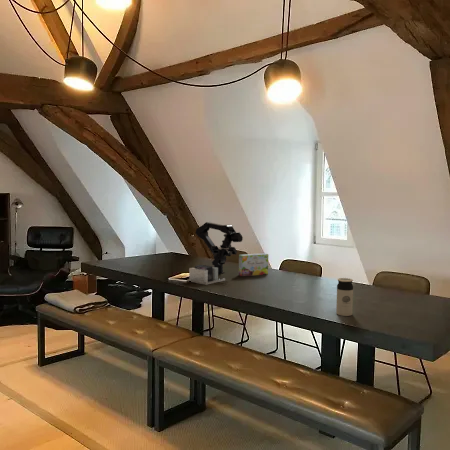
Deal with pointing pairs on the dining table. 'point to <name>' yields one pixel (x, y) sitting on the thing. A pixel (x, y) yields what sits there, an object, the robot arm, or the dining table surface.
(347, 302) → the travel mug
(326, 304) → the dining table surface
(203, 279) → the vise
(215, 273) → the free jaw
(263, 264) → the snack box
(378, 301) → the dining table surface
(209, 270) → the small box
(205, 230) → the robot arm
